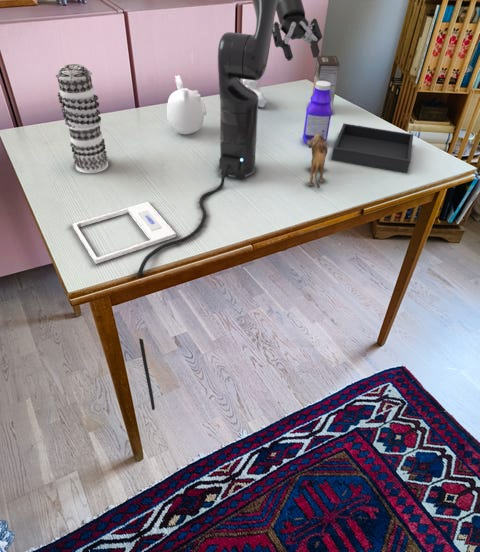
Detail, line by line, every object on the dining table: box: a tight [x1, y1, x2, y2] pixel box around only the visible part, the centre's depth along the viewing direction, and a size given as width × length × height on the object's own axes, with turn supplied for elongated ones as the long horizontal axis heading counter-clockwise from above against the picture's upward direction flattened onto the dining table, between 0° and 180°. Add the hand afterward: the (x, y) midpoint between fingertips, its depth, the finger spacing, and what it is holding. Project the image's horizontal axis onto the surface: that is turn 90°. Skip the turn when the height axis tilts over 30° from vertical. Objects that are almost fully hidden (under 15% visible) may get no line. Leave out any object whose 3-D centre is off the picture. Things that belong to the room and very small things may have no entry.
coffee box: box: [311, 54, 341, 115], centre depth 151 cm, size 9×6×16 cm
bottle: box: [302, 81, 333, 145], centre depth 132 cm, size 7×6×17 cm
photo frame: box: [71, 201, 177, 265], centre depth 101 cm, size 15×1×18 cm
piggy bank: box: [166, 74, 207, 135], centre depth 136 cm, size 12×12×15 cm
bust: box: [242, 79, 267, 108], centre depth 155 cm, size 12×8×11 cm
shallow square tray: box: [331, 122, 414, 174], centre depth 133 cm, size 18×21×4 cm
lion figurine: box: [306, 134, 328, 189], centre depth 120 cm, size 15×5×9 cm, turn 0°
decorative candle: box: [55, 63, 109, 174], centre depth 115 cm, size 9×9×25 cm
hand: (303, 57), depth 131 cm, fingers open, 8 cm apart
